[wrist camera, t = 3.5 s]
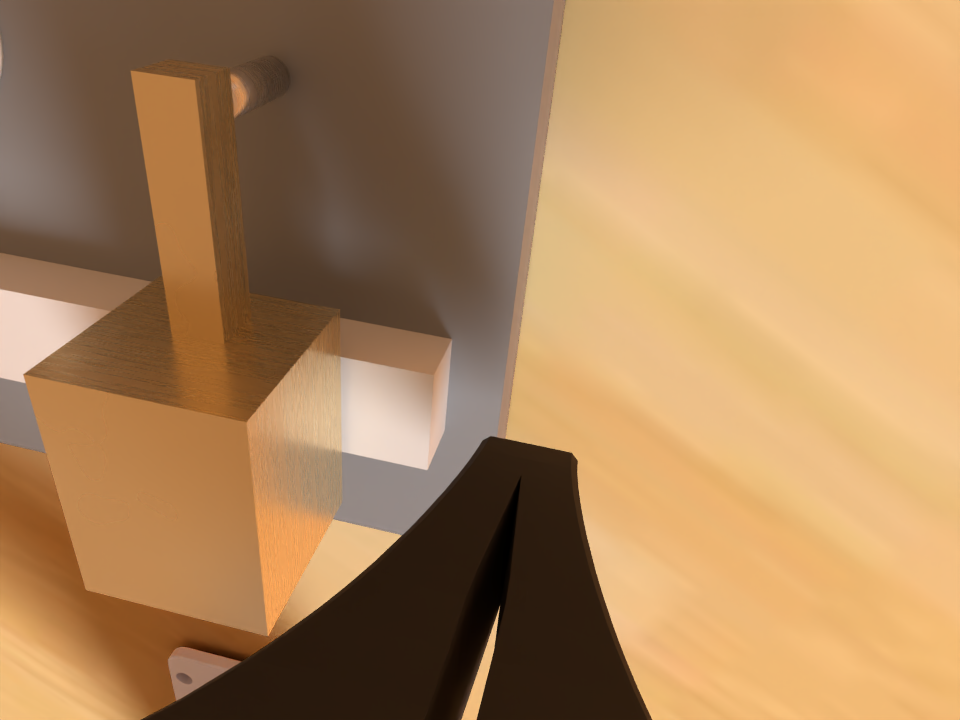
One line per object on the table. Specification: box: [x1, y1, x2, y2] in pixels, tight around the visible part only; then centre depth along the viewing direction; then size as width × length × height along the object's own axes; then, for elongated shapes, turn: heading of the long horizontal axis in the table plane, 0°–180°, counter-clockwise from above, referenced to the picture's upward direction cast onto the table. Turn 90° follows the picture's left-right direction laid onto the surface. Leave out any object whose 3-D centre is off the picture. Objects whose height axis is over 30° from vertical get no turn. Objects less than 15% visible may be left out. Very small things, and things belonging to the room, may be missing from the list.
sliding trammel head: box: [23, 55, 342, 637], centre depth 11 cm, size 8×3×4 cm, turn 175°
